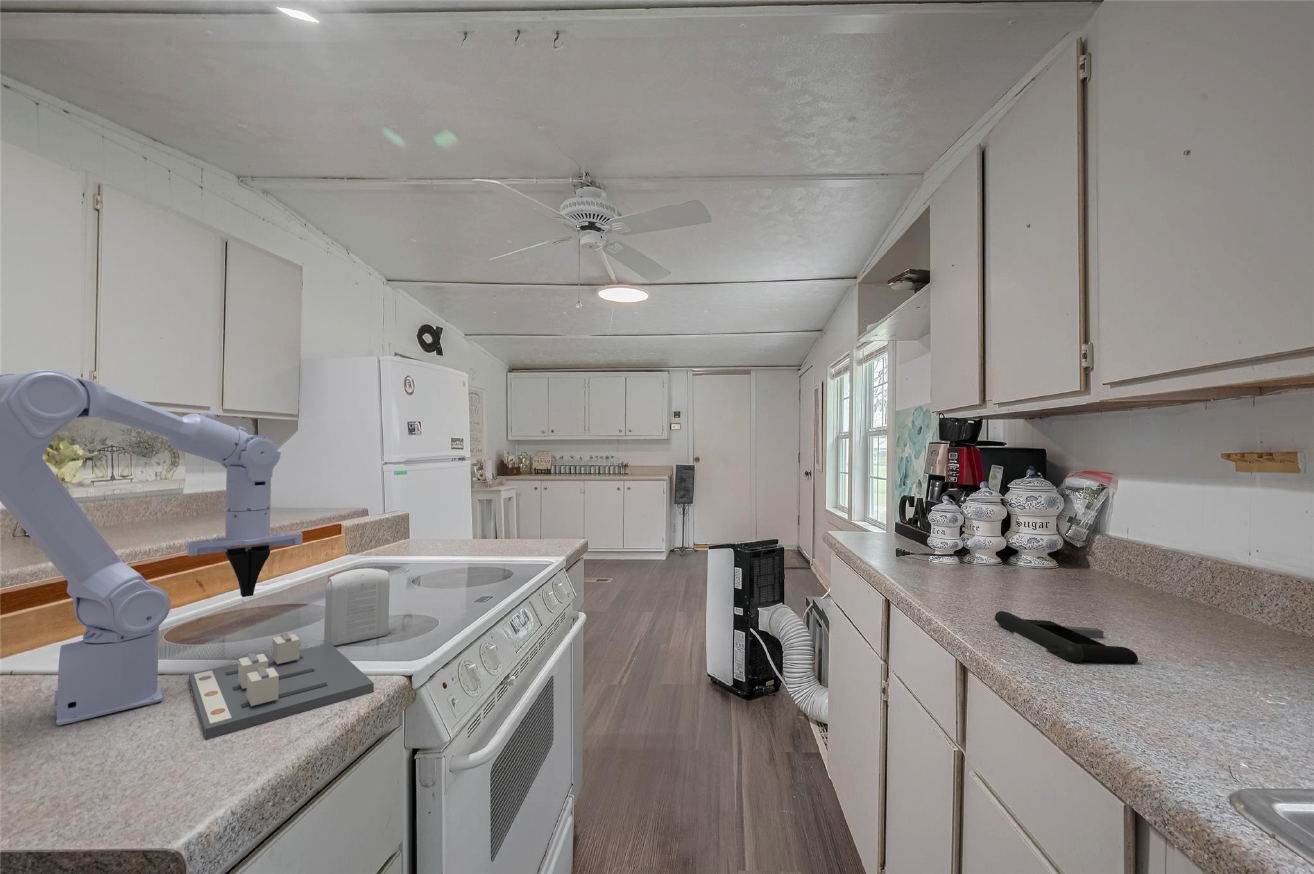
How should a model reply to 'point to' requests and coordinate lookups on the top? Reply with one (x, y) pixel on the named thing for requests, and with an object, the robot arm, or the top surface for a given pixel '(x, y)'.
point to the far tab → (285, 648)
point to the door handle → (1065, 640)
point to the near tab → (262, 686)
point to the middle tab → (250, 666)
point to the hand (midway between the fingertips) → (247, 595)
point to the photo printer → (356, 606)
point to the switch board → (300, 689)
